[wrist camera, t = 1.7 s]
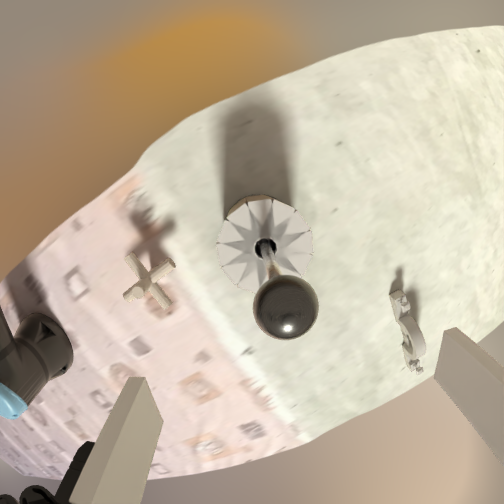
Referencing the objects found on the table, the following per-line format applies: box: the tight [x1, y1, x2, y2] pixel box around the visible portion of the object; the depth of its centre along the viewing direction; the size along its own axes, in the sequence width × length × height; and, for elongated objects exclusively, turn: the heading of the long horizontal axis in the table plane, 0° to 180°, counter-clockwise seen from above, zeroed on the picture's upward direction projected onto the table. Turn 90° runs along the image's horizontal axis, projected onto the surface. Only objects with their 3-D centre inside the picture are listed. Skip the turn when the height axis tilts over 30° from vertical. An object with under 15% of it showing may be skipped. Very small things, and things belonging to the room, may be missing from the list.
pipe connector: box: [123, 252, 176, 309], centre depth 43 cm, size 10×10×10 cm
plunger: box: [253, 237, 319, 340], centre depth 26 cm, size 8×8×22 cm
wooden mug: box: [216, 195, 314, 294], centre depth 40 cm, size 11×14×14 cm
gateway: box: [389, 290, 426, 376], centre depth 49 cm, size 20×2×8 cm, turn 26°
